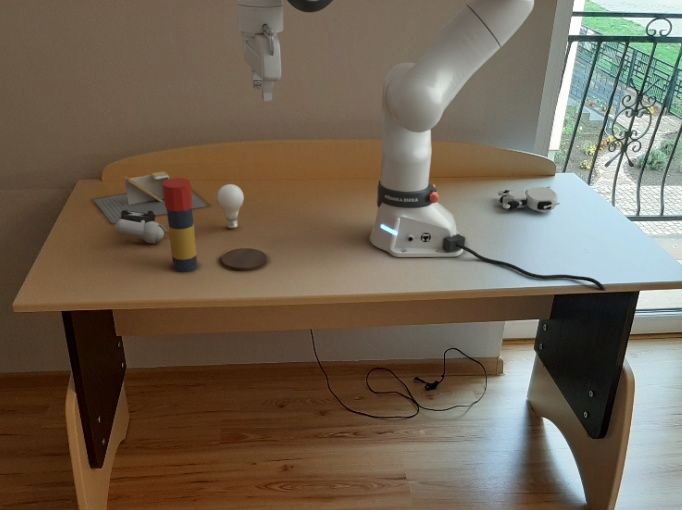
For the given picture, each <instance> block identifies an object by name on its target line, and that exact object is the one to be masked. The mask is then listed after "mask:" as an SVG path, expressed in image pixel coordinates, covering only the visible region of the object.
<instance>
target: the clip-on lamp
mask: <svg viewBox="0 0 682 510" xmlns="http://www.w3.org/2000/svg"><path fill="white" fill-rule="evenodd" d="M115 230H116V232H117V233H118V234H120V235H125V236H130V237H133V238H138V239H142V240H143V241H144V242H146V243H147V244H150V245H155V244H157V242H159V241H161V240H163V238H164V235H165V233H164V232H166V233H168V234H169V229H166V228H165V227H164V226H163V224H161V223H159V222H156V216H155V214H153V211H150V210H149V211H148V214H147V213H141V212H134V211H128V210H123V211H122V212H121V219H120V220H119V221H118V222H117V223H115Z"/></svg>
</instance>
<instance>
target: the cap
mask: <svg viewBox="0 0 682 510" xmlns="http://www.w3.org/2000/svg"><path fill="white" fill-rule="evenodd" d="M191 191H192V185H191V180H189V179H187V178H183V177H174V178H170V179H168V180H166V181H164V182H163V193H164V202H165V207H166V209H167V210H170V211H185V210H188V209H191V207H192V206H193V203H192V192H193V191H192V192H191Z"/></svg>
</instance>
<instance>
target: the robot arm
mask: <svg viewBox="0 0 682 510" xmlns="http://www.w3.org/2000/svg"><path fill="white" fill-rule="evenodd" d="M286 1H287V3H288V4H290V5H291V6H292V7H293V8H294V9H296V10H298V11H300V12H303V13H316V12H320V11H322V10H324V9H325V8H327V7H328V6H329V5H330V4H331V3H332V2H333V1H334V0H286ZM534 5H535V0H469V1H468V2H467V3H466V4H465V5H464V6H463V7H461V9H459V11H458V12H457V13H456V14H454V16H453V17H451V18H450V20H449V21H448V22H447V23H446V24H445V25H444V26H443V27H442V28H441V29H440V30H438V32H437V33H436V34H435V35H434V37H433V38H432V41H431V43H430V44H429V46H427V48H426V50H425V51H424V52H423V54H422V55H421V56H420V58H419V59H418V61H417V62H416V63H415V62H407V61H406V62H400V63H397V64H394V65H393V66H392V67H391V68H390V69H389V70H388V71H387V73H386V74H385V75H384V79H383V82H382V87H381V88H382V89H381V90H382V91H381V92H382V93H381V161H380V162H381V163H380V179H379V180H378V184H377V188H376V189H377V190H376V206H377V209H376V215H375V219H374V224H373V227H372V231H371V233H370V235H369V241H370V242H371V244H372V245H373V246H375V247H376V248H378V249H381V250H383V251H386V252H388V253H389V254H390V256H393V257H395V258H427V257H428V258H430V257H431V258H445V257H446V258H447V257H448V258H450V257H455V258H456V257H458V256H460V255H461V254H463V252H464V251H465V252H467V253H469V254H471V255H473V256H474V257H475V258H477V259H479V260H481V261H483V262H486V263H491V264H495V265H500V266H503V267H507V268H510V269H512V270H515V271H517V272H518V273H520V274H523V275H525V276H526V277H530V278H534V279H541V280H552V279H554V280H555V279H568V280H576V281H585V282H589V283H592V284H594V285H596V286H597V287H598V288H599V289H600V290H601V291H603V292H606V288H605V286H604V285H603V284H602V283H601V282H600V281H598V280H597V279H595V278H592V277H590V276H589V277H588V276H581V275H573V274H572V275H571V274H545V275H544V274H537V273H532V272H530V271H527V270H525V269H523V268H521V267H519V266H516V265H515V264H512V263H510V262H505V261H502V260H496V259H493V258H492V259H491V258H488V257H485V256H484V255H483V256H482V255H480V254H479V253H478V252H476V250H475V251H474V250H473V249H471V248H469V247H467V246H465V244H466V243H465V242H466V237H465V236H463V234H462V233H461V232H460V231H459V230H457V224H456V220H455V217H454V215H453V213H451V212H450V211H449V210H448V209H447V208H446V207H444V206H443V205H442V204H441V203H439V193H438V189H437V187H436V185H435V184H434V183H433V185H432V184H431V183H429V181H430V172H431V163H432V152H433V149H432V130H431V129H433V128H434V127H435V126H436V125H437V124H439V122H440V120H441V118H442V116H443V113H444V112H445V110H446V109H447V107H448V106H449V105H450V104H451V102H452V101H453V100H454V99H455V97H456V96H457V95H458V93H459V92H460V91H461V90H462V88H463V87H464V85H465V84H466V83H467V82H468V80H469V79H470V78H471V77H472V76H473V75H474V74H475V73H476V72H477V71H478V70H479V69H480V68H481V67H482V66H483V65H484V64H485V63H486V62H487V61H488V60H489V59H490V58H492V57H493V56H494V54H496V53H497V52H498V51H499V50H500V49H501V48H502V47H503V46H504V45H505V44H506V43H507V42H508V41H509V40H510V39H511V38H512V37H513V35H515V33H516V32H517V31H518V30H519V29H520V27H521V26H522V25H523V24H524V22H525V21H526V19H527V18H528V17H529V16H530V14H531V13H532V11H533V9H534ZM236 10H237V11H236V12H237V14H236V18H237V30H238V31H239V32H240V37H241V44H242V45H241V46H242V53H243V58H244V61H245V62H246V63H247V64H248V66H250V73H251V77H252V87H253V89H254V90H255V91H260V90H261V98H262V100H263V101H264V102H272V101H273V92H274V87H275V82H279V81H281V78H282V57H281V43H280V40H279V38H278V34H279V33H282V32H283V31H284V0H236ZM585 383H586V384H585V388H584V394H588V393H589V391H590V390H589V389H590V386H591V381H587V382H585Z"/></svg>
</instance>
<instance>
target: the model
mask: <svg viewBox="0 0 682 510" xmlns="http://www.w3.org/2000/svg"><path fill="white" fill-rule="evenodd" d="M124 178H125V179H124V183H125V191H126V197H127V204H128V205H133V204H139V203H144V202H150V201H156V200H157V201H159V202H160V203H162V202H163V201H164V193H163V182H164V181H166V180H168V179H171V178H170V175H169V174H168V173H167V172H166V171H165V170H162V171H158V172H151V174H148V175H142V176H136V177H128V176H127V175H124Z"/></svg>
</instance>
